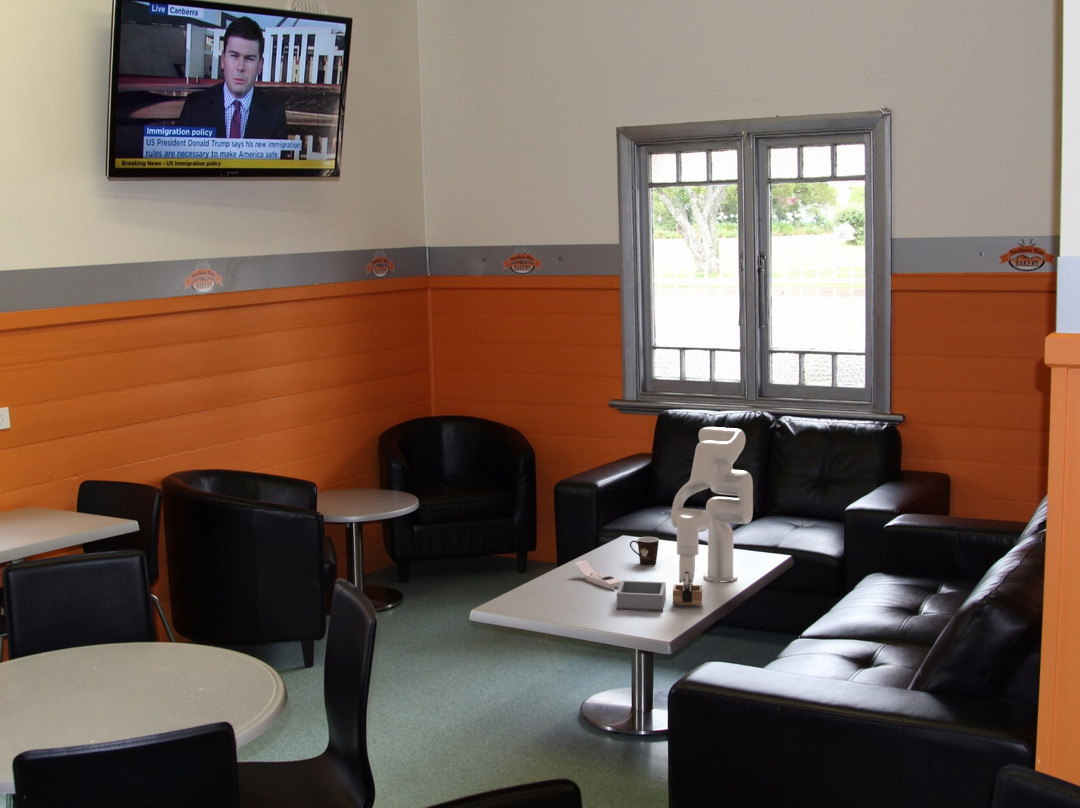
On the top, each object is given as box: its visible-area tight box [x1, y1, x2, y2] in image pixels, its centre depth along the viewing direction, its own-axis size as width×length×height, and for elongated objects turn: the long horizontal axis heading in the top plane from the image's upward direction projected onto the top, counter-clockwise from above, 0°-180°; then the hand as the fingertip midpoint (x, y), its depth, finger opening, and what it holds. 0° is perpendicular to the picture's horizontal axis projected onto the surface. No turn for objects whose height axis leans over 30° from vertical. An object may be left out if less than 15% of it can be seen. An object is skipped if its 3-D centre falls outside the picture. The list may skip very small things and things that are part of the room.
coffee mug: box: [629, 536, 660, 567], centre depth 460 cm, size 12×9×10 cm
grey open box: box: [616, 580, 667, 613], centre depth 406 cm, size 16×16×6 cm
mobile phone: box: [574, 559, 621, 591], centre depth 434 cm, size 6×6×25 cm
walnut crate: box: [672, 584, 703, 606], centre depth 403 cm, size 7×10×5 cm
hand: (687, 597), depth 404 cm, fingers closed on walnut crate, 7 cm apart
